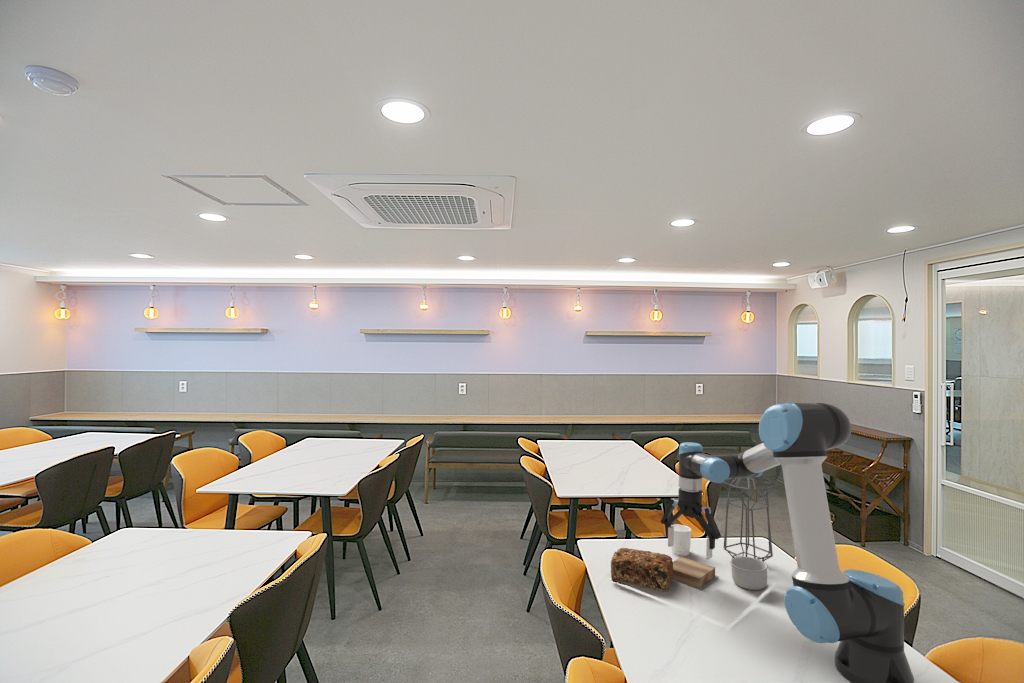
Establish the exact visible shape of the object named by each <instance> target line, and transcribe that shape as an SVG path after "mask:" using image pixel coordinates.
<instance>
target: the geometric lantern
mask: <svg viewBox="0 0 1024 683" xmlns="http://www.w3.org/2000/svg"><path fill="white" fill-rule="evenodd" d="M761 478H762V479H761ZM742 479H743V478H732V479H727V480H725V481H724V482H722V483H720V484H721V485H722V487H723V488H724V489H725V490H726V491H727V492H728V494H727V500H726V504H725V505H726V507H725V526H724V534H723V535H724V537H723V549H724V551H726V552H727V553H728V554H729V555H730V556H731V557H732V558H731V560H732V559H733V558H735V557H736V555H741V556H742V557H748V555H750V556H751V557H753V558H756V559H759V560H761V561H763V562H764V563H765V561H766V560H768V559H771V558H772V557H773V554H774V553H773V544H772V533H771V532H772V531H771V524H770V523H771V522H770V509H769V508H770V505H769V503H770V502H769V497H768V496H769V494H770V493H771V492H773V491H774V490H775V488H777V487H779V486H780V485H779V484H778V483H776V482H774V481H773V480H772V479H770V478H768V477H767V476H765V475H763V474H762V475H761V476H759V477H753V478H745V479H746V480H747V487H744V486H740V484H741V482H742ZM763 479H764V480H766V481H763ZM755 484H756V485H755ZM751 485H752V486H753V487H754V488H752V486H751ZM760 485H761V486H762V487H760ZM767 485H769V486H767ZM732 489H735V492H734V491H732ZM739 489H741V491H739ZM742 489H743V490H742ZM769 489H770V490H769ZM750 490H751V491H753V492H752V493H751V494H750V495H749V497H748V498H744V497H743V495H742V494H743V493H745V492H748V491H750ZM757 490H758V491H759V492H760V494H759V493H758V491H757ZM765 491H766V493H765ZM764 493H765V494H764ZM754 494H756V495H757V496H758V497H757V499H756V500H754V499H751V498H752V497H753V496H754ZM731 495H736V496H738V497H739V498H736V499H730V498H731ZM762 498H764V500H765V503H763V502H760V501H759V499H762ZM739 500H740V501H741V505H738V504H734V503H732V502H735V501H739ZM744 501H747V505H746V503H745V502H744ZM750 502H754V503H753V505H752V506H751V508H750ZM756 504H761V505H764V507H758V508H754V506H755V505H756ZM729 505H732V506H735V507H738V508H741V516H740V517H741V520H740V536H739V538H740V539H739V542H737V543H734V544H730V545H727V543H728V542H727V541H728V538H727V537H728V518H729V517H728V514H729ZM762 509H766V515H767V533H768V534H767V535H768V536H767V537H768V538H767V540H768V550H766V549H764V548H761V547H758V546H756V542H755V541H756V540H755V529H754V528H755V526H754V511H757V510H758V511H759V510H762ZM744 510H745V542H743V541H742V540H743V526H744V525H743V524H744V522H743V520H744ZM750 512H751V513H750ZM750 515H751V517H750ZM750 518H751V530H752V531H751V532H752V544H750ZM738 545H740V547H741V551H742V552H740V553H735V552H733V551H730V550H729V549H727V548H731V547H734V546H738ZM743 545H745V550H744V548H743V547H744V546H743ZM749 546H750V547H752V548H753V550H752V551H753V554H751V553H749V552H748V549H749ZM756 549H757V550H760V551H763V552H766V553H767V554H766V555H764V556H761V557H760V556H757V555H756ZM744 554H745V555H744Z"/></svg>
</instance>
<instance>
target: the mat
mask: <svg viewBox="0 0 1024 683" xmlns="http://www.w3.org/2000/svg"><path fill="white" fill-rule="evenodd" d="M718 578H720V576H718V575H716V574H715V577H714V578H712V579H711V580H710V581H708V582H707V583H706V584H704V585H703V586H702V587H700V588H698V587H695V586H692V585H689V584H687V583H684V582H681V581H678V580H675V579H673V578H672V581H674V582H675V583H676V582H678V583H680V584H683V585H685V586H688V587H691V588H693V589H695V590H699V591H702V590H704V589H705V588H706V587H708V586H709V585H710V584H712V583H713V582H714V581H716V580H717V579H718Z"/></svg>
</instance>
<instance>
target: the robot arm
mask: <svg viewBox="0 0 1024 683" xmlns="http://www.w3.org/2000/svg"><path fill="white" fill-rule="evenodd" d="M758 434H759V439H760V442H761V443H760V444H757V445H755V446H753V447H751V448H749V449H746V450H744V451H743V452H740V453H735V454H732V453H731V454H717V455H716V454H706V453H704V450H703V445H702V444H700V443H697V442H687V441H685V442H681V443H680V444H679V449H678V452H679V453H678V487H679V488H678V497H677V498H678V499H676V498H675V497H674V498H671V499H670V500H669V503H668V504H669V505H668V507H667V508H666V510H665V512H664V514H663V516H662V517H661V519H660V523H661V524H662V525H663V524H664V526H665V535H666V536H667V547H669V548H671V546H673V545H674V526H671V525H674V523H675V522H676V521H677V520H678V519H679V518H680V517H681V516H684V517H689V518H691V519H695V521H697V523H699V525H700V527H701V528H702V530H703V531H704V533H705V534H706V536H707V538H706V553H705V554H706V555H705V558H706V560H708V561H709V560H710V559H712V558H713V550H714V549H715V548H716V540H719V539H720V538H722V534H721V532H720V530H719V528H718V525H717V523H716V520H715V517H714V516H713V513H712V512H713V511H712V507H711V506H708V507H706V506H703V503H702V502H703V491H702V489H703V479H705V480H707V481H709V482H712V483H715V484H716V483H717V484H721V483H722V482H726V481H725V480H729V479H732V478H733V479H735V478H742V479H746V478H751V479H752V478H753V477H759V478H760V476H761V475H763V473H764V472H766V471H768V470H770V469H773V468H775V467H777V466H781V470H782V476H783V482H784V490H785V496H786V502H787V508H788V515H789V521H790V527H791V528H790V529H791V534H792V540H793V547H794V554H795V557H796V565H797V567H796V569H795V570H794V571H793V572H791V578H792V585H793V586H791V587H788V588H787V589H786V592H785V593H784V598H783V602H784V608H785V610H786V614H787V615H788V616H787V617H788V618H789V619H790V621H791V622H792V624H793V626H794V627H795V628H796V630H797V631H798V632H799V633H800V634H801V635H803V636H804V637H805V638H806V639H808V641H811V642H813V643H817V644H818V643H819V644H826V643H829V644H837V642H839V643H838V646H837V648H836V651H835V655H834V664H835V665H834V666H835V668H836V670H837V671H838V672H839V673H840V674H841V675H842V676H843V677H844V678H846V680H848V681H849V682H851V683H915V678H914V675H913V672H912V669H911V666H910V664H909V661H908V658H907V655H906V653H905V606H906V605H905V602H904V591H903V589H902V588H901V587H900V586H899V585H898V583H896V582H894V581H892V580H890V579H889V578H886V577H884V576H880V575H878V574H876V573H872V572H869V571H865V570H860V569H859V570H858V569H854V568H853V569H852V568H851V569H845V570H844V571H841V569H840V564H839V559H838V558H839V557H838V553H837V548H836V540H835V536H834V535H835V534H834V529H833V524H832V518H831V513H830V507H829V502H828V497H827V495H828V494H827V489H826V485H825V478H824V474H823V473H824V472H823V466H822V464H823V462H824V461H826V459H828V454H827V451H831V450H833V449H837V448H839V447H841V446H843V445H845V444H846V442H847V441H848V440H849V439H850V437H851V434H852V424H851V420H850V419H849V417H848V415H847V414H846V413H845V412H844V411H843V410H842V409H841V408H839V407H837V406H836V405H833V404H830V403H825V402H816V403H815V402H813V403H812V402H811V403H810V402H809V403H806V402H786V403H785V402H784V403H777V404H773V405H771V406H769V407H767V409H766V410H764V413H763V414H762V415H761V417H760V419H759V424H758ZM733 479H732V480H733ZM676 506H678V511H677V512H676V513H675V514H674V515H673V516H672V517H671V515H672V513H673V511H674V510H675V507H676ZM702 512H703V514H702ZM704 516H705V518H706V519H705V518H704ZM670 517H671V518H670ZM669 518H670V519H669Z"/></svg>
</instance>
